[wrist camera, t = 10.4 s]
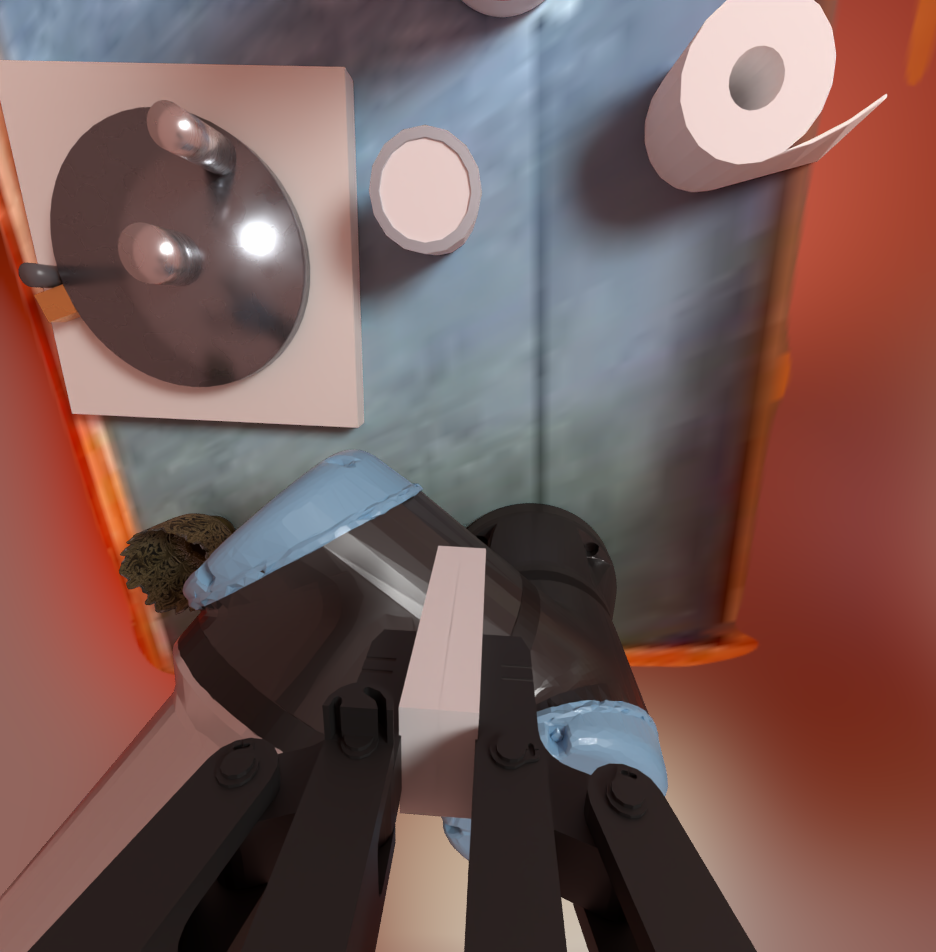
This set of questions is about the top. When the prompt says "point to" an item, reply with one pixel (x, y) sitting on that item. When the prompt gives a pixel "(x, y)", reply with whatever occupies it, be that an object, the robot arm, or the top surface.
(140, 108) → the flange plate
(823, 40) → the toilet paper
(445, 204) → the pale pink cylinder
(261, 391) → the base plate
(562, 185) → the top surface
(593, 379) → the top surface
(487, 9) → the fruit juice
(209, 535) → the cup
